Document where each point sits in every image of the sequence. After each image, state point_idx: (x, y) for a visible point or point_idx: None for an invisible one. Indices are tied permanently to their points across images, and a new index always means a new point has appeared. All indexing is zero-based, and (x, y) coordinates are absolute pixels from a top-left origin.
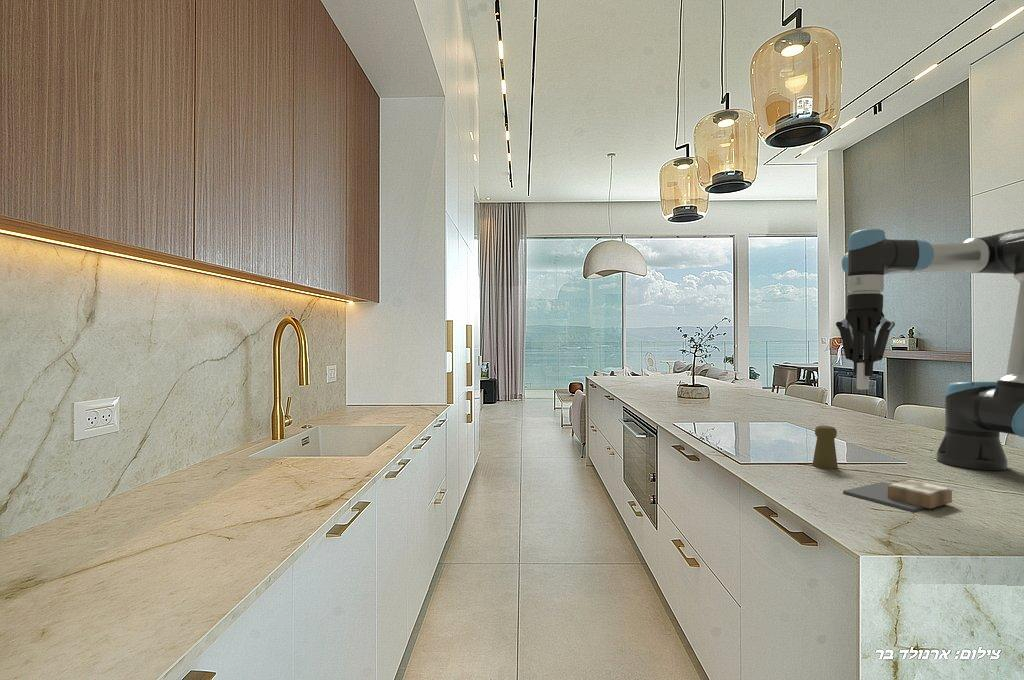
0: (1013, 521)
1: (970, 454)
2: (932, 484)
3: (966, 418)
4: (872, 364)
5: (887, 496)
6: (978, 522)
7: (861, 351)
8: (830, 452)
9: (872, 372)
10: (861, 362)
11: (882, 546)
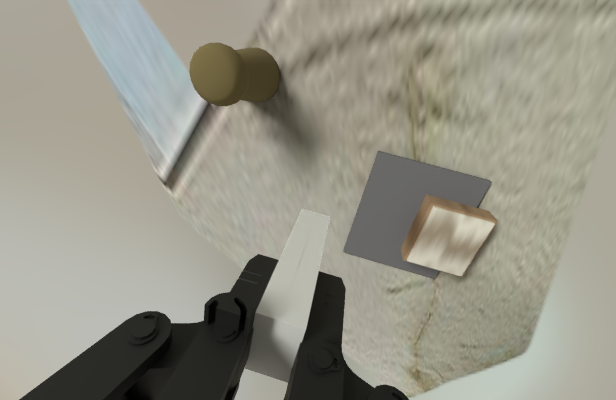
0: (565, 235)
1: None
2: (468, 217)
3: None
4: (338, 350)
5: (399, 242)
6: (512, 270)
7: None
8: (259, 92)
9: (343, 300)
10: (253, 335)
11: (414, 382)
